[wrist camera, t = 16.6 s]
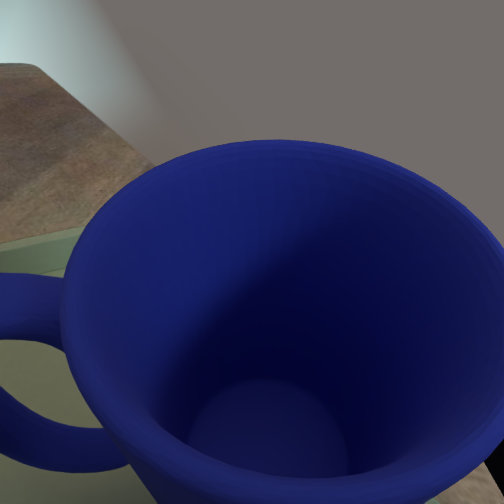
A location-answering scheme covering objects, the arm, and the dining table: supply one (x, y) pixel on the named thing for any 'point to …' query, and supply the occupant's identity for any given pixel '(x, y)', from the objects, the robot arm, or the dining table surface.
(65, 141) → the dining table surface
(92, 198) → the dining table surface
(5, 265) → the tray
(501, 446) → the robot arm
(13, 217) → the dining table surface
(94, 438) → the mug
